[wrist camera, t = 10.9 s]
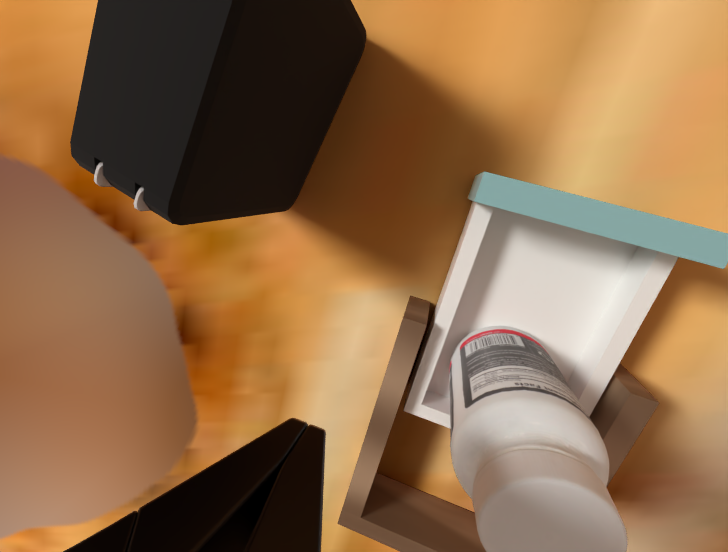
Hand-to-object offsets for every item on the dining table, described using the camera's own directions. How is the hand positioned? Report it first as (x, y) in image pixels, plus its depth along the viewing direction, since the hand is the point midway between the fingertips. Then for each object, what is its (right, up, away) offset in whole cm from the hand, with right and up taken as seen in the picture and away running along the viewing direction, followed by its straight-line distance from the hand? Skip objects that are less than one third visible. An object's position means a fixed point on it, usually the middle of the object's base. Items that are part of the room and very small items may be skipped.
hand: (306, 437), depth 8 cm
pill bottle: (+9, -1, +11) cm, 14 cm away
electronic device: (-2, +13, +11) cm, 17 cm away
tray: (+10, +2, +11) cm, 15 cm away
